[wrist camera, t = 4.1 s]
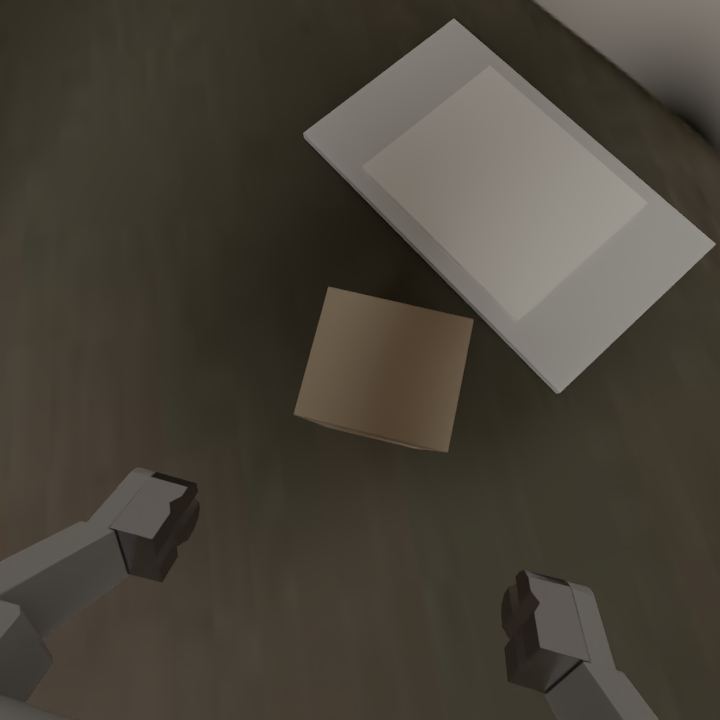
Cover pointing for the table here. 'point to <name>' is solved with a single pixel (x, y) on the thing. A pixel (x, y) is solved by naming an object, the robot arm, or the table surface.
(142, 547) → the robot arm
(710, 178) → the table surface
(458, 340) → the wooden block
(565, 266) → the grey mat
